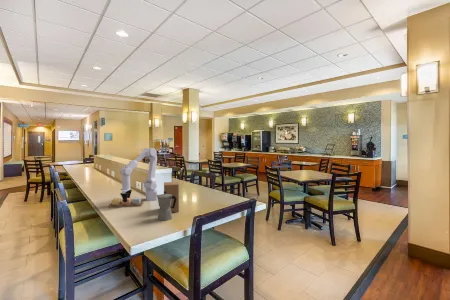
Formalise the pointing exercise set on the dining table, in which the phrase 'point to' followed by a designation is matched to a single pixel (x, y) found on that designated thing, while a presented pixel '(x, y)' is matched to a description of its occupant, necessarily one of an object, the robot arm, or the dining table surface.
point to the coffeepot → (165, 206)
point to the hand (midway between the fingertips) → (126, 200)
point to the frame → (125, 205)
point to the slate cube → (136, 200)
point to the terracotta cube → (127, 201)
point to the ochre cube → (116, 201)
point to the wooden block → (173, 194)
